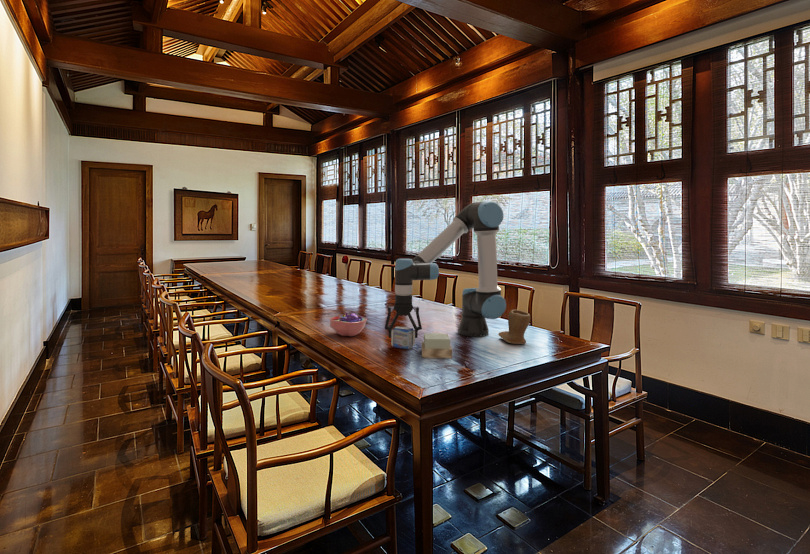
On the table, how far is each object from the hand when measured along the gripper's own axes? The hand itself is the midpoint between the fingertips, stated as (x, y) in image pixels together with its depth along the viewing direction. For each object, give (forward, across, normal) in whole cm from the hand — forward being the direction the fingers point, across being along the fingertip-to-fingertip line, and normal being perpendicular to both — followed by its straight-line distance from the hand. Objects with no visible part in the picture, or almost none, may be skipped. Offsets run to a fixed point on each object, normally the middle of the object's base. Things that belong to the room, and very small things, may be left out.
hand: (403, 345), depth 198 cm
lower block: (+2, -14, +10) cm, 17 cm away
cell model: (+1, +27, -22) cm, 35 cm away
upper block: (-2, -14, +10) cm, 17 cm away
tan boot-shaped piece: (+1, -52, -12) cm, 53 cm away
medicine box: (+1, 0, 0) cm, 1 cm away
